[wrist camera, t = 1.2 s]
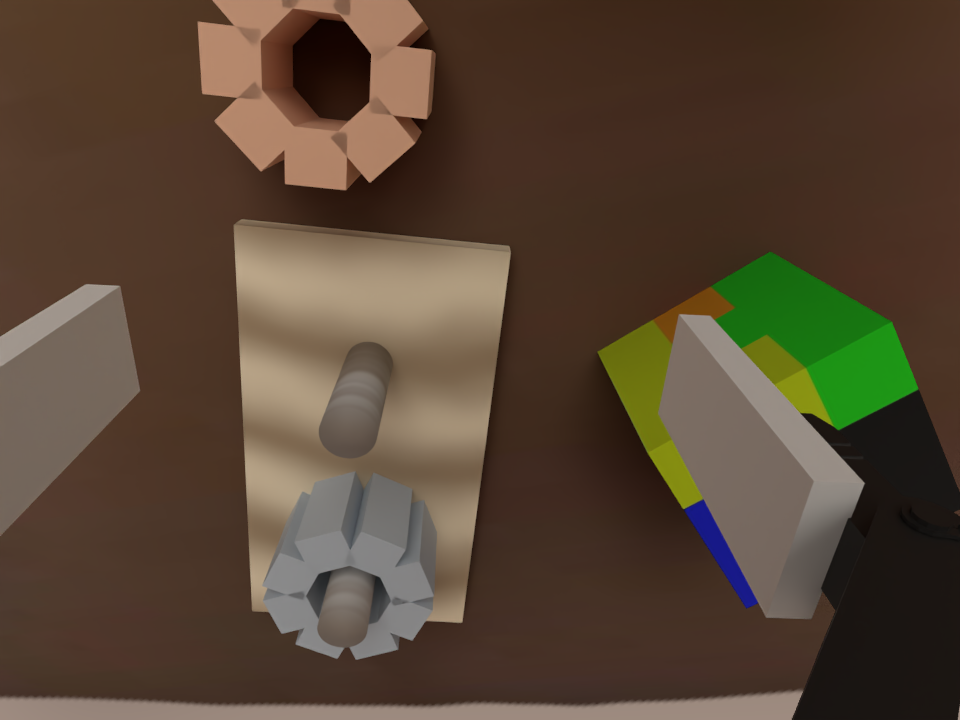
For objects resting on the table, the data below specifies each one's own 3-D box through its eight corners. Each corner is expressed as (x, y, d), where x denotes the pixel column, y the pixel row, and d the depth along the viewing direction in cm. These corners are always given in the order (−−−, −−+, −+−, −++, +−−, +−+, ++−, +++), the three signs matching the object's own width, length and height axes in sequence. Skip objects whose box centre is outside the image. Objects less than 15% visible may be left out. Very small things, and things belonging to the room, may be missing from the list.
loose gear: (237, -53, 26) (191, -78, 22) (441, -26, 27) (438, -45, 22) (245, 159, 30) (207, 175, 25) (426, 179, 30) (421, 198, 26)
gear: (264, 495, 36) (237, 557, 31) (407, 457, 35) (399, 514, 31) (321, 602, 39) (303, 672, 35) (452, 570, 39) (451, 636, 34)
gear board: (241, 219, 31) (172, 266, 23) (509, 245, 32) (525, 299, 24) (257, 596, 41) (212, 715, 33) (461, 608, 42) (463, 726, 34)
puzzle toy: (677, 479, 38) (746, 608, 29) (597, 351, 34) (647, 452, 25) (837, 396, 36) (965, 506, 27) (769, 251, 32) (891, 321, 23)
